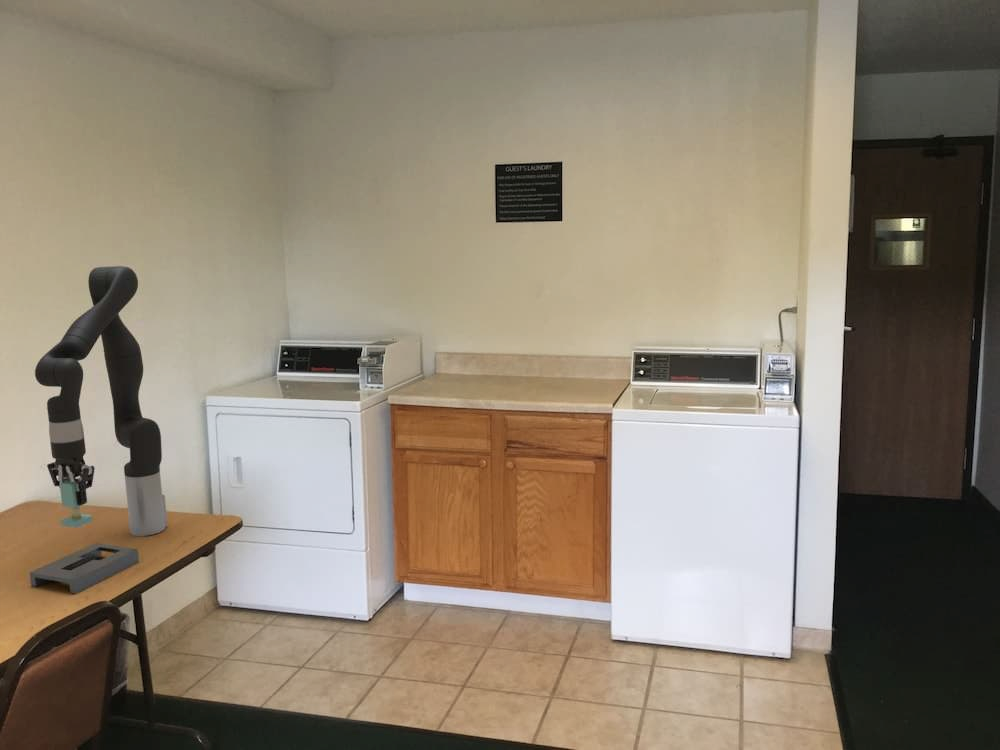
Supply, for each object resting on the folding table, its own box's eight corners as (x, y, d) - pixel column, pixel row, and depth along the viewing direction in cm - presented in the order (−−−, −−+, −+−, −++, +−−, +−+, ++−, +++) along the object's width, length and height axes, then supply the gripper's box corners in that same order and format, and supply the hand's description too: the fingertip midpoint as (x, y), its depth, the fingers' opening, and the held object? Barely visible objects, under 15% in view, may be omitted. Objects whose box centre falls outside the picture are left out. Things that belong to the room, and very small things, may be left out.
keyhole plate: (97, 555, 217) (96, 542, 216) (139, 561, 212) (137, 549, 212) (31, 586, 199) (29, 572, 198) (75, 594, 194) (73, 580, 193)
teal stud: (78, 518, 211) (73, 477, 209) (92, 521, 209) (87, 479, 207) (61, 525, 206) (56, 483, 204) (76, 527, 204) (71, 485, 202)
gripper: (100, 436, 204) (108, 501, 207) (59, 431, 210) (67, 496, 213) (75, 443, 197) (83, 511, 201) (33, 439, 203) (41, 505, 206)
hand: (75, 503), depth 207 cm, fingers closed on teal stud, 4 cm apart
